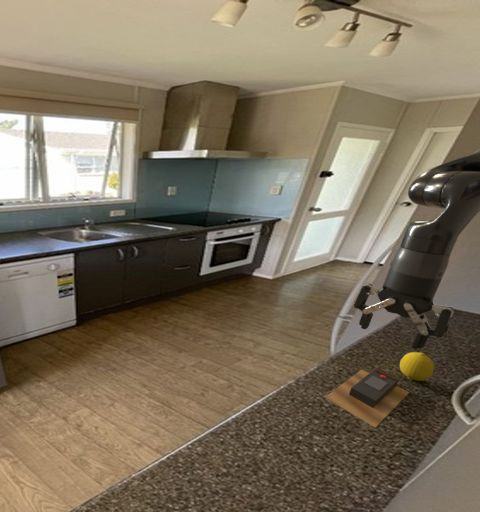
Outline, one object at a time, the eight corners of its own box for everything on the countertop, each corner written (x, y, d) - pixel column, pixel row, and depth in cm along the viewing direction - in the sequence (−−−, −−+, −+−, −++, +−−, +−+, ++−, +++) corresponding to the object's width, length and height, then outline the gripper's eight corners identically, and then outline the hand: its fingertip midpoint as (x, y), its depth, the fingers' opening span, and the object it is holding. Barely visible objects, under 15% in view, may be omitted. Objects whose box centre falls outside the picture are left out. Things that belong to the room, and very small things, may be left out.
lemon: (430, 391, 69) (444, 363, 66) (399, 381, 71) (410, 355, 69) (421, 377, 73) (433, 351, 71) (392, 369, 76) (402, 343, 73)
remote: (372, 408, 63) (376, 400, 62) (348, 394, 67) (351, 386, 66) (396, 385, 70) (399, 378, 69) (373, 374, 73) (375, 367, 72)
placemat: (361, 370, 75) (361, 369, 75) (408, 393, 68) (409, 392, 68) (324, 398, 66) (324, 397, 66) (374, 429, 58) (375, 427, 58)
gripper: (474, 279, 55) (439, 350, 60) (378, 258, 67) (356, 318, 72) (463, 286, 52) (428, 361, 57) (364, 262, 63) (342, 325, 68)
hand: (388, 337), depth 64 cm, fingers open, 8 cm apart
